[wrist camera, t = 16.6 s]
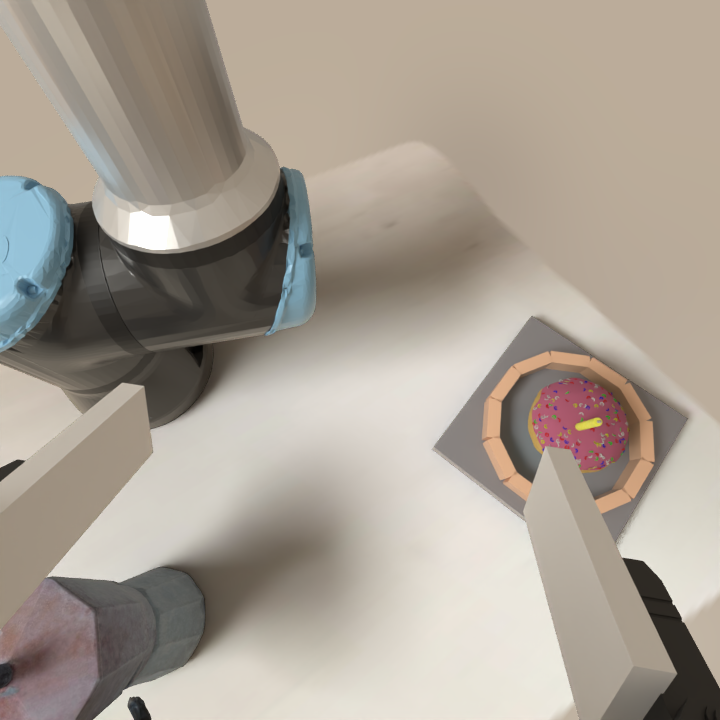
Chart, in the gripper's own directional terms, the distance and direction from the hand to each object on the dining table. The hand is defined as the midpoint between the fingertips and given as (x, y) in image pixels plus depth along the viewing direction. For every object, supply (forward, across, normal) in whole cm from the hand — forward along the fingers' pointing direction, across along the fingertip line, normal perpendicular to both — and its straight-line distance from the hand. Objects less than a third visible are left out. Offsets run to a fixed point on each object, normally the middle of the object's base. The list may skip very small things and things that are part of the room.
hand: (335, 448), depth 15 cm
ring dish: (+28, +19, -16) cm, 38 cm away
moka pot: (+13, -16, -32) cm, 38 cm away
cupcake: (+28, +19, -15) cm, 37 cm away
